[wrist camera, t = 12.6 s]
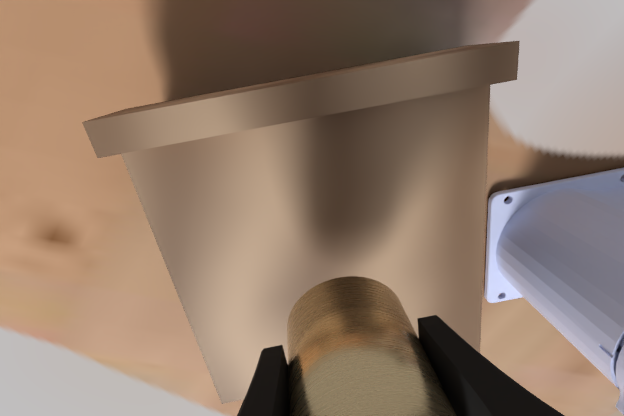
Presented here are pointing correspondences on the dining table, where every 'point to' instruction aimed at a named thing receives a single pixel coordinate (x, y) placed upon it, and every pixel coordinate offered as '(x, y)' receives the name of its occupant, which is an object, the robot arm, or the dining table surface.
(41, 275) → the dining table surface
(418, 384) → the cylinder
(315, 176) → the box lid
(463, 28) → the dining table surface
